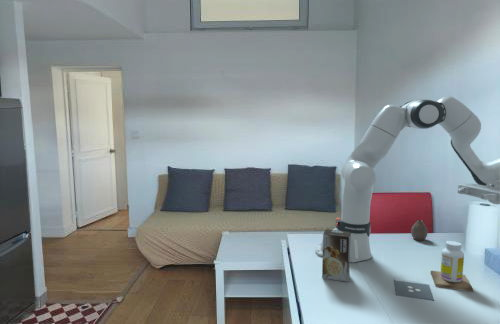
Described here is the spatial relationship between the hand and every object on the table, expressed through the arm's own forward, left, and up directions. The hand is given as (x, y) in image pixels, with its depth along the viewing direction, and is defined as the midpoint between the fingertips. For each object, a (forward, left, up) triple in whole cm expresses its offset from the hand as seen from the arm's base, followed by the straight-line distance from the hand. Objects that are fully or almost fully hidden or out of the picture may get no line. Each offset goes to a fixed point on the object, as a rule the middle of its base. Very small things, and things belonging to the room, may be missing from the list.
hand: (470, 194), depth 131 cm
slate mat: (-19, -21, -29) cm, 41 cm away
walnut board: (-6, -10, -29) cm, 32 cm away
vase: (-11, +35, -30) cm, 47 cm away
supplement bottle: (-6, -10, -29) cm, 31 cm away
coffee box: (-44, -19, -30) cm, 57 cm away
